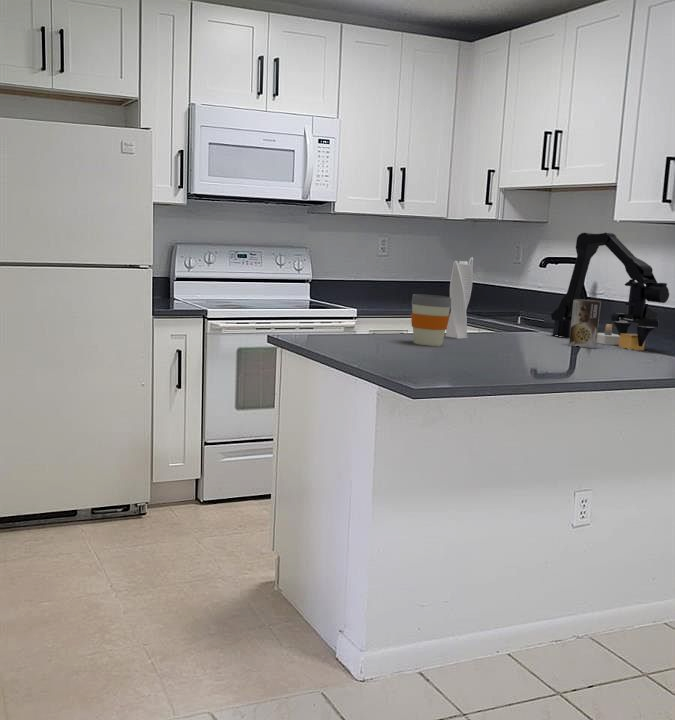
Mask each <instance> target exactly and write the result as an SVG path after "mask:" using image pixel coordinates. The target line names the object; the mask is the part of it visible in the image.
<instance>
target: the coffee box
mask: <svg viewBox="0 0 675 720" xmlns="http://www.w3.org/2000/svg"><path fill="white" fill-rule="evenodd" d="M601 305H602V300H596V299H595V300H593V299H584V298H583V299H582V298H581V299H574V300H573V311H572V321H571V330H570V338H569V339H568V340H569V341H568V346H569V345H571V346H570V347H576V346H579V347H578V348H590V349H596V348H597V334H598V333H599V332H598V331H599V322H600V316H601V315H600V314H601Z"/></svg>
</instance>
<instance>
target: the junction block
mask: <svg viewBox="0 0 675 720" xmlns="http://www.w3.org/2000/svg"><path fill="white" fill-rule="evenodd" d="M619 341H620V336H619V334H616V333H613V324H612V323H611V324H610V323H606V324H605V329H604V332H598V334H597V343H598V344H601V343H602V344H601V345H613V346H614V345H615V346H616V345H617V346H619Z"/></svg>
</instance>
